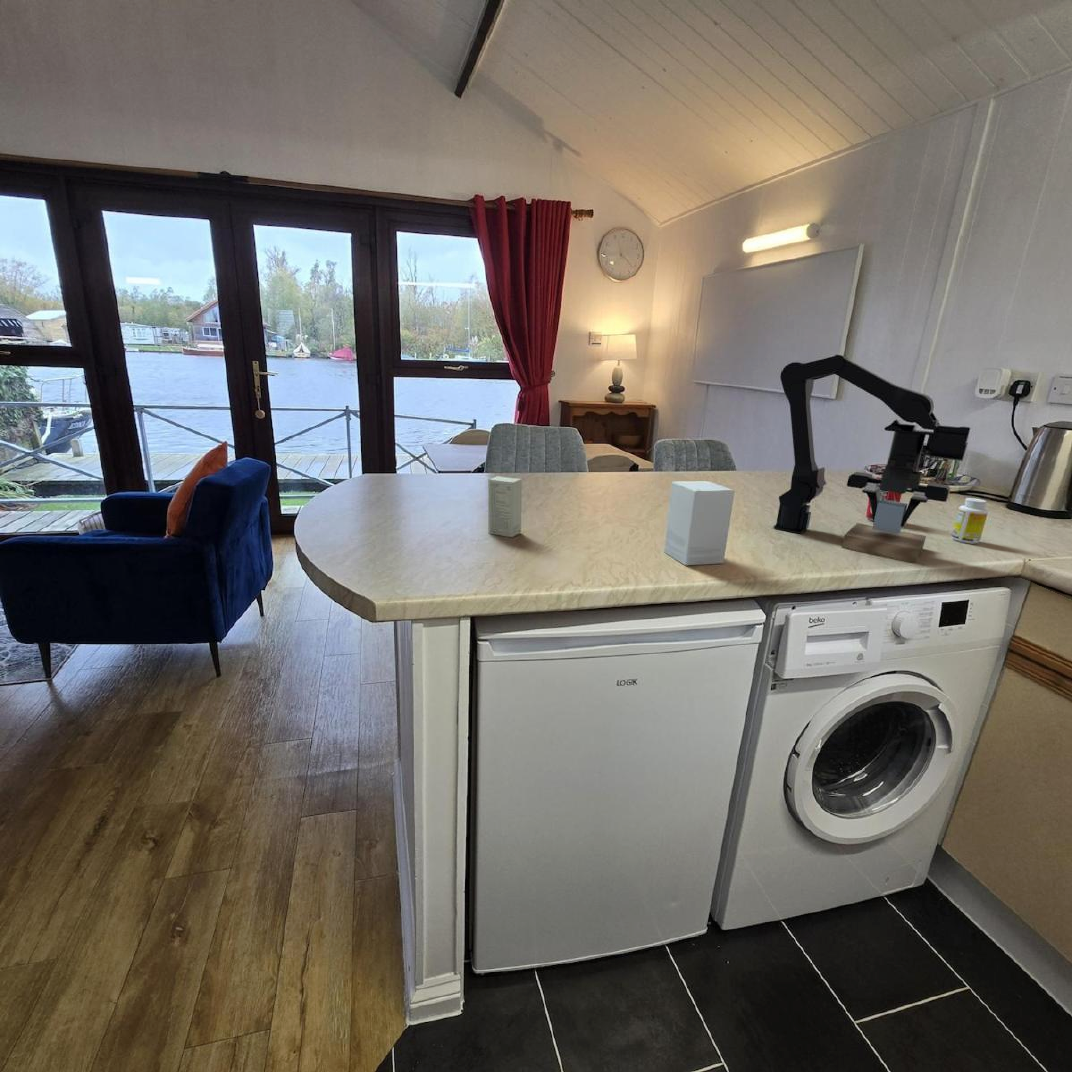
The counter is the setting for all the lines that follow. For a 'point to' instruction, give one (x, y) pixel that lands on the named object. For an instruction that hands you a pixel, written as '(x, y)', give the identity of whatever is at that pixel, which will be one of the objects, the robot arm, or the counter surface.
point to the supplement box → (698, 522)
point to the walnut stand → (884, 543)
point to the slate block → (889, 516)
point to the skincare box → (504, 506)
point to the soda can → (885, 496)
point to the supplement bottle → (970, 521)
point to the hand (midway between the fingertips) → (888, 524)
